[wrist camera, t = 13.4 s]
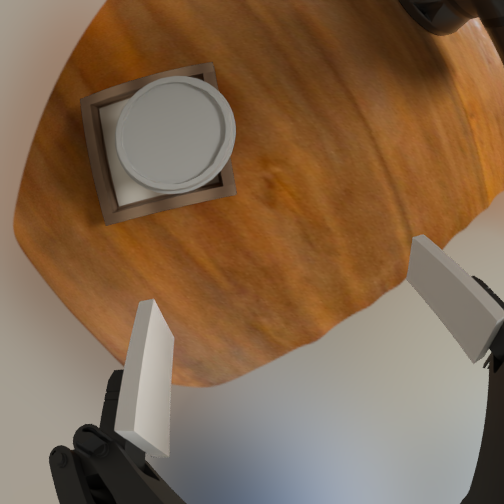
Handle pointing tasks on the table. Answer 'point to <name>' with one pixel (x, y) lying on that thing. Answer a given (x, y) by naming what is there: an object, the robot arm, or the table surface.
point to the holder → (108, 165)
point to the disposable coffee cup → (175, 134)
